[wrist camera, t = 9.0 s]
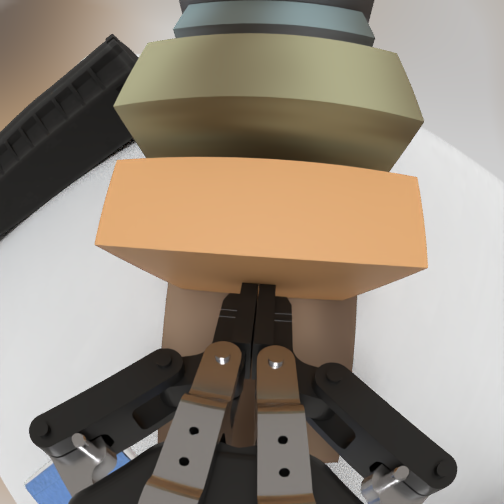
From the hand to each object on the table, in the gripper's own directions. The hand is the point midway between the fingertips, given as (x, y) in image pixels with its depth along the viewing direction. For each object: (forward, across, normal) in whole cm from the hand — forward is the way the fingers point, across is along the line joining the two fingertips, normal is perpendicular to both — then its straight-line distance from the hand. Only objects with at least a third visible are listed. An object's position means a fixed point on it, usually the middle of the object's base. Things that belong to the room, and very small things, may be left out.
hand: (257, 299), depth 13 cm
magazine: (+11, +22, -2) cm, 24 cm away
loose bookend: (+4, 0, +2) cm, 5 cm away
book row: (+6, 0, +2) cm, 6 cm away
